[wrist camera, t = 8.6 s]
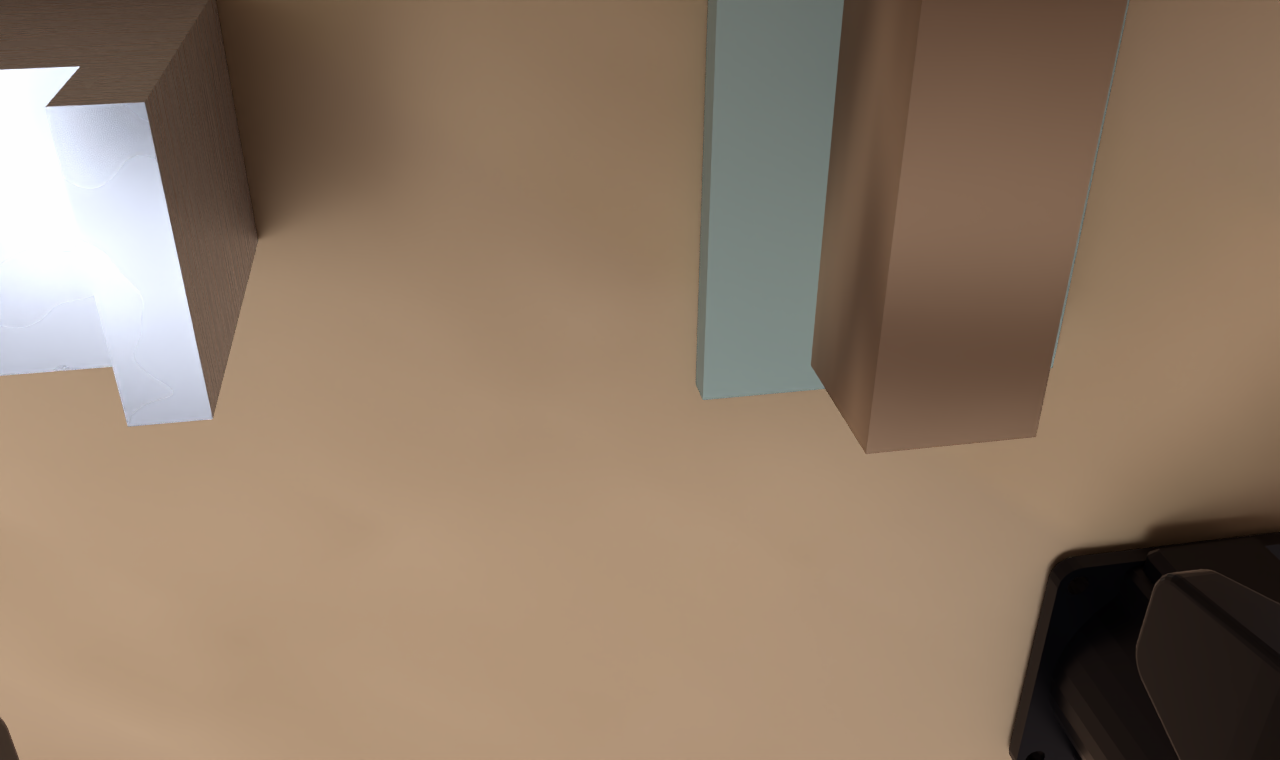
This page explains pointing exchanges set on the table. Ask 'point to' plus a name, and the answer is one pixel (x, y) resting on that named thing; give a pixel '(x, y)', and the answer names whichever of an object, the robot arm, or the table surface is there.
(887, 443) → the rail
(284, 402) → the table surface
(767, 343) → the mat
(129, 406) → the grey block
